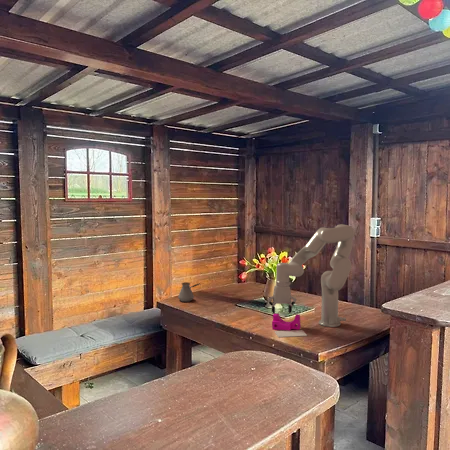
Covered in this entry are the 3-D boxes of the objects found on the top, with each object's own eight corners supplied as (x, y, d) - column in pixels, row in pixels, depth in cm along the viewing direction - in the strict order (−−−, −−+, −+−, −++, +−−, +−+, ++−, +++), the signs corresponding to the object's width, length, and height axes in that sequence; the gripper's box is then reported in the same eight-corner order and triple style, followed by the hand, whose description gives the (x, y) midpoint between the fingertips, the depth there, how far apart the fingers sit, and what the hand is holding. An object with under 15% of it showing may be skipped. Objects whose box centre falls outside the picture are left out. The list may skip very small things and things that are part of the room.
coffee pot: (174, 300, 293) (174, 280, 292) (187, 297, 301) (186, 278, 300) (194, 306, 278) (194, 284, 277) (206, 303, 286) (206, 282, 285)
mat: (302, 330, 226) (302, 329, 226) (307, 336, 217) (307, 335, 217) (274, 331, 224) (274, 331, 224) (278, 337, 215) (278, 336, 215)
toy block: (272, 329, 228) (271, 316, 228) (275, 325, 234) (274, 313, 234) (298, 330, 223) (297, 317, 222) (300, 327, 229) (299, 314, 228)
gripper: (295, 282, 239) (294, 310, 240) (266, 282, 237) (265, 311, 238) (298, 285, 232) (297, 314, 233) (269, 285, 230) (268, 314, 231)
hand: (281, 312), depth 236 cm, fingers open, 9 cm apart
